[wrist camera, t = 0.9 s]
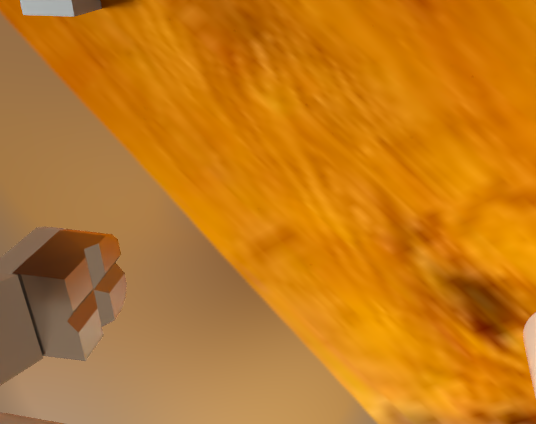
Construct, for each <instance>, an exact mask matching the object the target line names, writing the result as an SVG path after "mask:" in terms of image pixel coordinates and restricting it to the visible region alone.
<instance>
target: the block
mask: <svg viewBox="0 0 536 424" xmlns="http://www.w3.org/2000/svg"><path fill="white" fill-rule="evenodd" d="M20 3H21V8H22V12H23V15H43V16H78V15H81V14H85V13H88V12H91V11H95V10H98V9H102V7H101V0H20Z"/></svg>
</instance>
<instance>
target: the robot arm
mask: <svg viewBox="0 0 536 424" xmlns="http://www.w3.org/2000/svg"><path fill="white" fill-rule="evenodd" d="M120 255H121V252H120V247H119V243H118V239H117V238H115V237H114V236H113V235H112V234H104V233H96V232H87V231H80V230H72V229H63V228H53V227H38V228H35V229H34V230H33V231H32V232H31V233H29V234H28V235H27V236H26V237H25V238H23V239H22V240H21V241H20V242H19V243H17V244H16V245H15V246H14V247H13V248H11V249H10V250H9V251H8V252H7V253H5V254H4V255H3V256H2V257H0V385H2V384H4V383H5V382H7V381H8V380H10V379H11V378H13V377H14V376H16V375H18V374H19V373H21V372H22V371H24V370H25V369H27V368H28V367H30V366H32V365H33V364H35V363H36V362H38V361H39V360H41V359H43V356H49V357H57V358H66V359H74V360H82V361H86V360H87V358H88V357H89V356H90V354H91V353H92V351H93V350H94V348H95V347H96V346H97V344H98V343H99V342H100V340H101V339H102V337H103V331H102V326H104V325H106V324H108V323H110V322H112V321H114V320H115V319H116V317H117V316H118V314H119V313H120V312H121V309H122V307H123V304H124V301H125V298H126V278H125V273H124V272H123V271H122V270H121V269H120V267H119V266H118V265H117V264H116V261H117V260H118V258H119V257H120ZM0 424H64V423H58V422H53V421H47V420H41V419H36V418H30V417H25V416H19V415H14V414H8V413H2V412H0Z"/></svg>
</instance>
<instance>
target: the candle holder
mask: <svg viewBox="0 0 536 424" xmlns="http://www.w3.org/2000/svg"><path fill="white" fill-rule="evenodd" d="M523 340H524V346H525V351H526V355H527V360H528V365H529V370H530V374H531V379H532V383H533V388H534V393H535V397H536V313H534V314H533V315H532V316H531V317H530V318H529V319H528V321H527V322H526V324H525V327H524V330H523Z"/></svg>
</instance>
